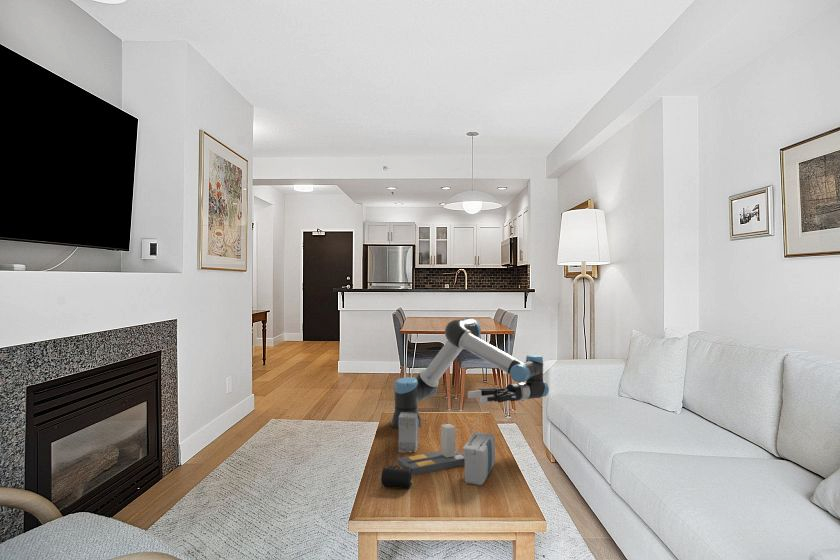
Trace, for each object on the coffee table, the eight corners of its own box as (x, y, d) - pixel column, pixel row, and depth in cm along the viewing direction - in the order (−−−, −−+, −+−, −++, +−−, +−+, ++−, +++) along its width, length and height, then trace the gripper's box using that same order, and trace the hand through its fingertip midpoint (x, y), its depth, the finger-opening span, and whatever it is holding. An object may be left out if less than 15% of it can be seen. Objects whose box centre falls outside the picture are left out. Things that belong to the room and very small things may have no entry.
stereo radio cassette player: (484, 488, 172) (483, 431, 172) (461, 484, 174) (461, 429, 174) (495, 466, 191) (495, 416, 191) (475, 464, 194) (475, 414, 194)
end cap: (381, 490, 170) (381, 470, 170) (386, 481, 177) (386, 463, 177) (408, 492, 168) (408, 473, 168) (413, 484, 175) (413, 465, 175)
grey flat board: (397, 464, 193) (397, 458, 193) (453, 454, 204) (453, 448, 204) (409, 475, 182) (409, 468, 182) (468, 464, 194) (468, 457, 194)
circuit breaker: (419, 441, 221) (419, 409, 221) (415, 452, 207) (415, 417, 207) (402, 441, 221) (402, 408, 222) (398, 452, 207) (398, 417, 207)
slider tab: (440, 453, 198) (440, 425, 198) (449, 452, 199) (449, 423, 200) (446, 457, 193) (446, 428, 193) (455, 456, 195) (455, 427, 195)
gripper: (532, 405, 206) (488, 412, 196) (503, 395, 225) (461, 400, 215) (532, 388, 206) (488, 393, 196) (503, 379, 225) (461, 383, 215)
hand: (474, 397), depth 205 cm, fingers open, 9 cm apart
